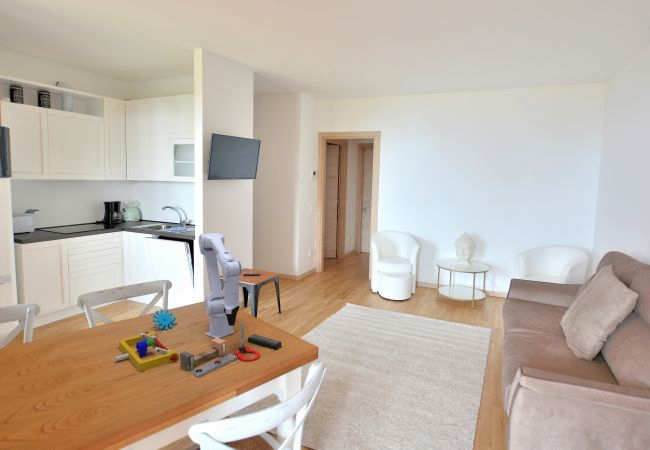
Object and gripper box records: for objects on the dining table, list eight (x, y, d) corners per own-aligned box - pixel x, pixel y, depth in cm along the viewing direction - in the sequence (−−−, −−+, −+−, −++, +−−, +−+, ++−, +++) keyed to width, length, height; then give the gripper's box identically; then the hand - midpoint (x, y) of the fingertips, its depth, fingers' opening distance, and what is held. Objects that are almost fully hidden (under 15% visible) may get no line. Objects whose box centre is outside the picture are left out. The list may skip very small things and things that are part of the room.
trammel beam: (217, 350, 155) (217, 338, 154) (227, 355, 152) (227, 342, 151) (179, 367, 141) (179, 353, 141) (189, 372, 138) (188, 358, 137)
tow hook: (264, 357, 152) (249, 349, 158) (265, 325, 150) (250, 318, 156) (247, 365, 145) (231, 356, 151) (248, 332, 143) (232, 324, 149)
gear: (155, 329, 170) (151, 309, 175) (150, 336, 173) (146, 315, 178) (180, 326, 177) (175, 307, 182) (175, 333, 181) (171, 313, 185)
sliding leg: (217, 350, 155) (217, 337, 155) (227, 355, 152) (227, 341, 151) (211, 353, 153) (211, 339, 152) (221, 357, 149) (221, 344, 149)
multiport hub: (275, 351, 157) (275, 345, 157) (247, 342, 164) (247, 337, 164) (281, 347, 161) (281, 341, 161) (253, 339, 168) (253, 334, 168)
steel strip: (230, 356, 151) (230, 353, 151) (237, 359, 149) (237, 356, 148) (191, 373, 137) (191, 370, 137) (198, 377, 135) (198, 374, 135)
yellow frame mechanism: (151, 322, 167) (179, 346, 145) (151, 336, 168) (180, 362, 146) (102, 333, 155) (126, 361, 133) (103, 348, 156) (127, 378, 134)
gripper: (224, 286, 162) (224, 318, 163) (217, 297, 147) (217, 332, 149) (242, 286, 162) (242, 318, 164) (236, 297, 148) (236, 332, 149)
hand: (231, 325), depth 156 cm, fingers closed
